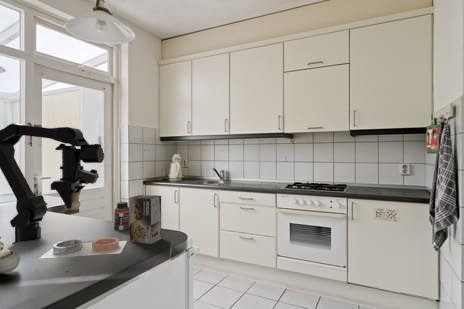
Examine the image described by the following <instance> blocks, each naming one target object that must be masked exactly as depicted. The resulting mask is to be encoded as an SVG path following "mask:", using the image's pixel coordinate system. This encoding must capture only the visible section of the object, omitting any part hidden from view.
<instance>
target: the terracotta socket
mask: <svg viewBox="0 0 464 309" xmlns="http://www.w3.org/2000/svg"><path fill="white" fill-rule="evenodd" d="M119 241H120V239H119V238H118V237H104V238H98V239H96V240H93V241H92V242H91V243H92V250H93V251H95V252H107V251H111V250H114V249H117V248H118V247H119Z"/></svg>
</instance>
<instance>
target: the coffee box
mask: <svg viewBox="0 0 464 309" xmlns="http://www.w3.org/2000/svg"><path fill="white" fill-rule="evenodd" d="M128 207H129V218H130V230H129V242H132V243H140V244H147V245H152V244H154V243H156V242H158V241H160V240H162V195H151V194H150V195H149V194H138V195H134V196H132V197H131V196H130V197H129V198H128Z"/></svg>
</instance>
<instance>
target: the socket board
mask: <svg viewBox="0 0 464 309" xmlns="http://www.w3.org/2000/svg"><path fill="white" fill-rule="evenodd" d="M92 243H93V242H85V243H84V242H82V249H81V250H80V251H77V252H75V253H70V254H63V255H58V254H54V253H53V247H52V248H50V249H49V250H48V251H47V252H46V253H44V254H43V255H42V256H40V257H39V258H38V260H42V259H44V260H45V259H55V258H58V259H59V258H71V257H72V258H73V257H86V256H88V257H89V256H102V255H114V254H115V255H118V254H121V253H122V251H123V249H124V248H125V246H126V244H127V243H128V240H119V247H118V248H117V249H114V250H111V251H107V252H95V251H93V250H92Z"/></svg>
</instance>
